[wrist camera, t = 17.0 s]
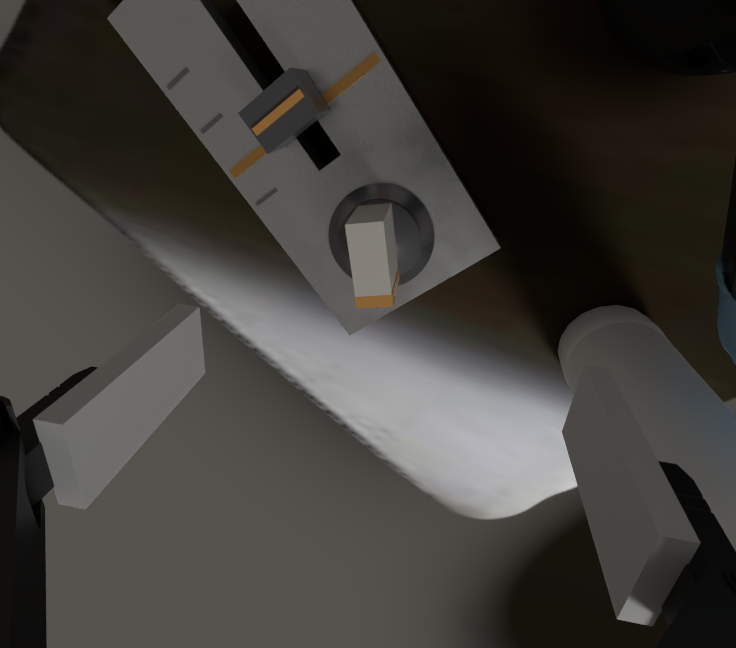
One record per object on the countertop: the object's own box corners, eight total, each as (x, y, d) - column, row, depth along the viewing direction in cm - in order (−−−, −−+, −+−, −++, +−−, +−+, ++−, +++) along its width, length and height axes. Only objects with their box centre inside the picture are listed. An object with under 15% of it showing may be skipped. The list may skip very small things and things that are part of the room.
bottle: (662, 374, 41) (1072, 911, 14) (566, 394, 43) (767, 894, 16) (650, 291, 38) (1140, 772, 11) (547, 317, 40) (757, 774, 13)
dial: (335, 202, 35) (315, 223, 30) (417, 194, 34) (412, 215, 29) (347, 279, 38) (330, 312, 32) (423, 273, 37) (420, 307, 31)
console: (272, -135, 30) (257, -155, 27) (497, 238, 38) (501, 249, 35) (128, 22, 35) (104, 17, 32) (354, 322, 43) (349, 337, 40)
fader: (312, 70, 34) (289, 67, 29) (337, 108, 35) (319, 112, 30) (267, 109, 36) (236, 113, 30) (292, 144, 37) (266, 154, 31)
